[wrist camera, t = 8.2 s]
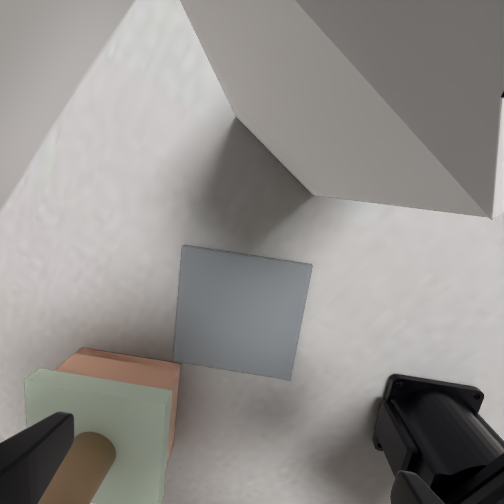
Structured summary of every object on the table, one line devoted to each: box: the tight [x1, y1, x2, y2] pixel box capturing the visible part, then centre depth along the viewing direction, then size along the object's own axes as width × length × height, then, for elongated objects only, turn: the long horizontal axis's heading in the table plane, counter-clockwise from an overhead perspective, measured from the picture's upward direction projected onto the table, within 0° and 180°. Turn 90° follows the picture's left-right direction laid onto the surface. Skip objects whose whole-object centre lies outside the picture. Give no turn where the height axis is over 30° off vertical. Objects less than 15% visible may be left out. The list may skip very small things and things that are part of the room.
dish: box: [54, 348, 181, 464], centre depth 21 cm, size 8×8×4 cm
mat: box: [173, 245, 313, 380], centre depth 20 cm, size 9×9×1 cm
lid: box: [24, 368, 172, 504], centre depth 16 cm, size 9×9×6 cm
